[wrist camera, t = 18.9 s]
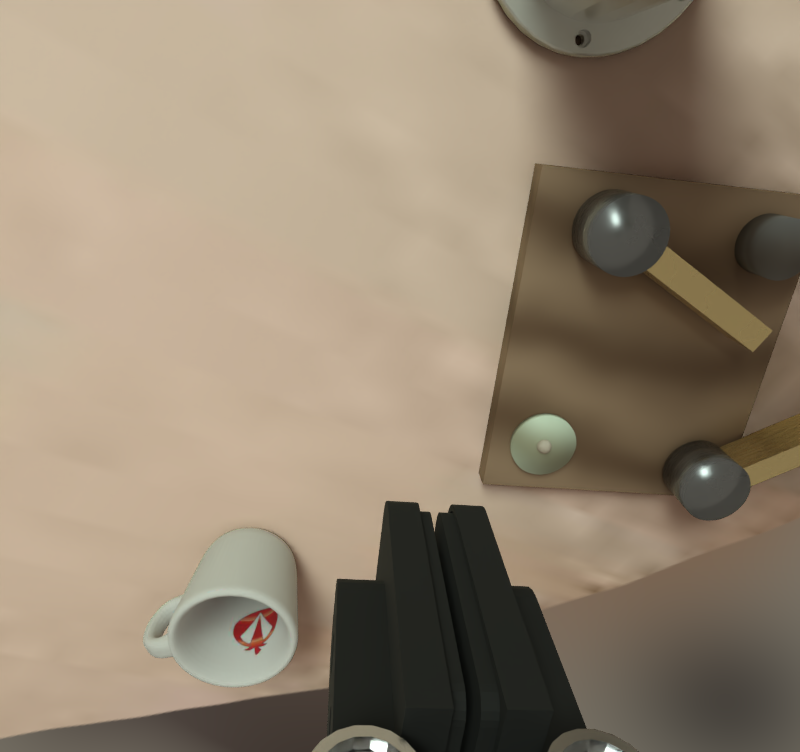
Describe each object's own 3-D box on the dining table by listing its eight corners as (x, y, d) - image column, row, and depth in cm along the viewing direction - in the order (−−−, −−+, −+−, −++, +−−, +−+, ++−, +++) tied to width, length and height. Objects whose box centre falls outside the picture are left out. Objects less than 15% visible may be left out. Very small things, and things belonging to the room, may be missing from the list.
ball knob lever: (556, 238, 36) (573, 248, 33) (606, 173, 35) (628, 177, 32) (711, 354, 40) (738, 371, 37) (761, 298, 38) (792, 312, 36)
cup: (192, 624, 47) (162, 716, 40) (141, 546, 44) (98, 630, 37) (323, 580, 47) (317, 666, 39) (280, 497, 44) (265, 574, 36)
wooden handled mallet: (671, 504, 44) (693, 530, 41) (655, 456, 42) (676, 479, 39) (853, 429, 43) (888, 450, 40) (843, 376, 41) (879, 394, 38)
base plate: (535, 163, 36) (553, 167, 33) (809, 195, 38) (852, 202, 35) (478, 472, 44) (488, 500, 41) (709, 486, 46) (736, 514, 43)
